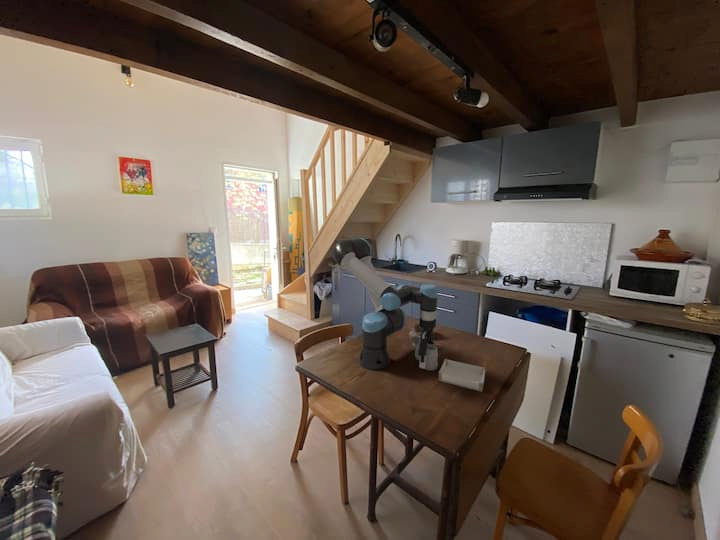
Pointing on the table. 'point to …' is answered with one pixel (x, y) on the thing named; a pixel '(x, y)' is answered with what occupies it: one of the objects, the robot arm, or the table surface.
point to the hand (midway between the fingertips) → (425, 362)
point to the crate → (462, 375)
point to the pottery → (416, 333)
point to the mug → (428, 356)
